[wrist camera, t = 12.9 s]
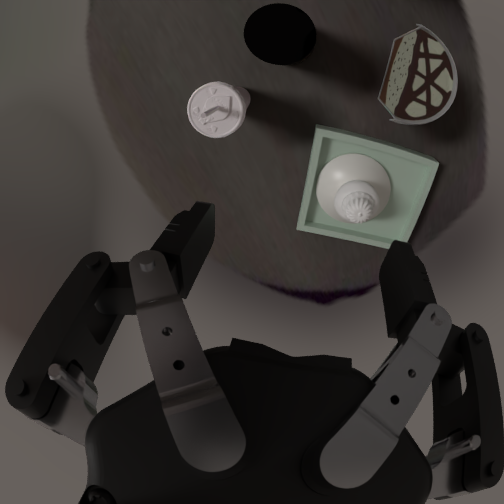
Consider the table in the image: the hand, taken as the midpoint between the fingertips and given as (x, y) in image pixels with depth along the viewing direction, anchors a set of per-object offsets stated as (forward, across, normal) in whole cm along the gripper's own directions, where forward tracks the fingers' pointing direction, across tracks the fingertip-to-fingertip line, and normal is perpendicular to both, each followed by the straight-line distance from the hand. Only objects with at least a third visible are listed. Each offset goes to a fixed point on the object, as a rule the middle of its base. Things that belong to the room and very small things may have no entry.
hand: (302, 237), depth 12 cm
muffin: (+26, -8, +9) cm, 29 cm away
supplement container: (+28, +4, -10) cm, 30 cm away
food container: (+28, -12, -9) cm, 32 cm away
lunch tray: (+28, -10, +9) cm, 31 cm away
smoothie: (+28, +10, -1) cm, 30 cm away
